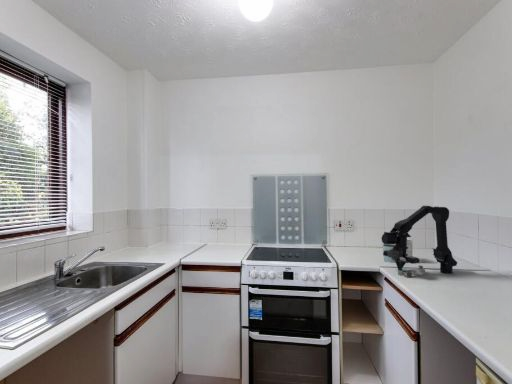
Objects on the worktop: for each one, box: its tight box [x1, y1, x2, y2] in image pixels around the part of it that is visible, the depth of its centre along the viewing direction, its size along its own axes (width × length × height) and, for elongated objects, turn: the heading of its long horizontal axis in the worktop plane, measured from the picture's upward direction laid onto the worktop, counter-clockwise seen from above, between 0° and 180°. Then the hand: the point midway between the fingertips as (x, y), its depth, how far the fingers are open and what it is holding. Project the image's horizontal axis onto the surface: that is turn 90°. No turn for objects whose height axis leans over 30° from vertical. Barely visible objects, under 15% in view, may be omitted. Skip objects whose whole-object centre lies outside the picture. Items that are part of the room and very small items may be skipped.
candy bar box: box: [406, 237, 413, 264], centre depth 173 cm, size 11×5×16 cm, turn 179°
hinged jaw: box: [397, 267, 419, 276], centre depth 144 cm, size 14×2×3 cm, turn 105°
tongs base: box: [403, 265, 426, 278], centre depth 145 cm, size 18×18×5 cm
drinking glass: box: [382, 243, 396, 264], centre depth 170 cm, size 10×10×12 cm
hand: (399, 271), depth 144 cm, fingers closed
